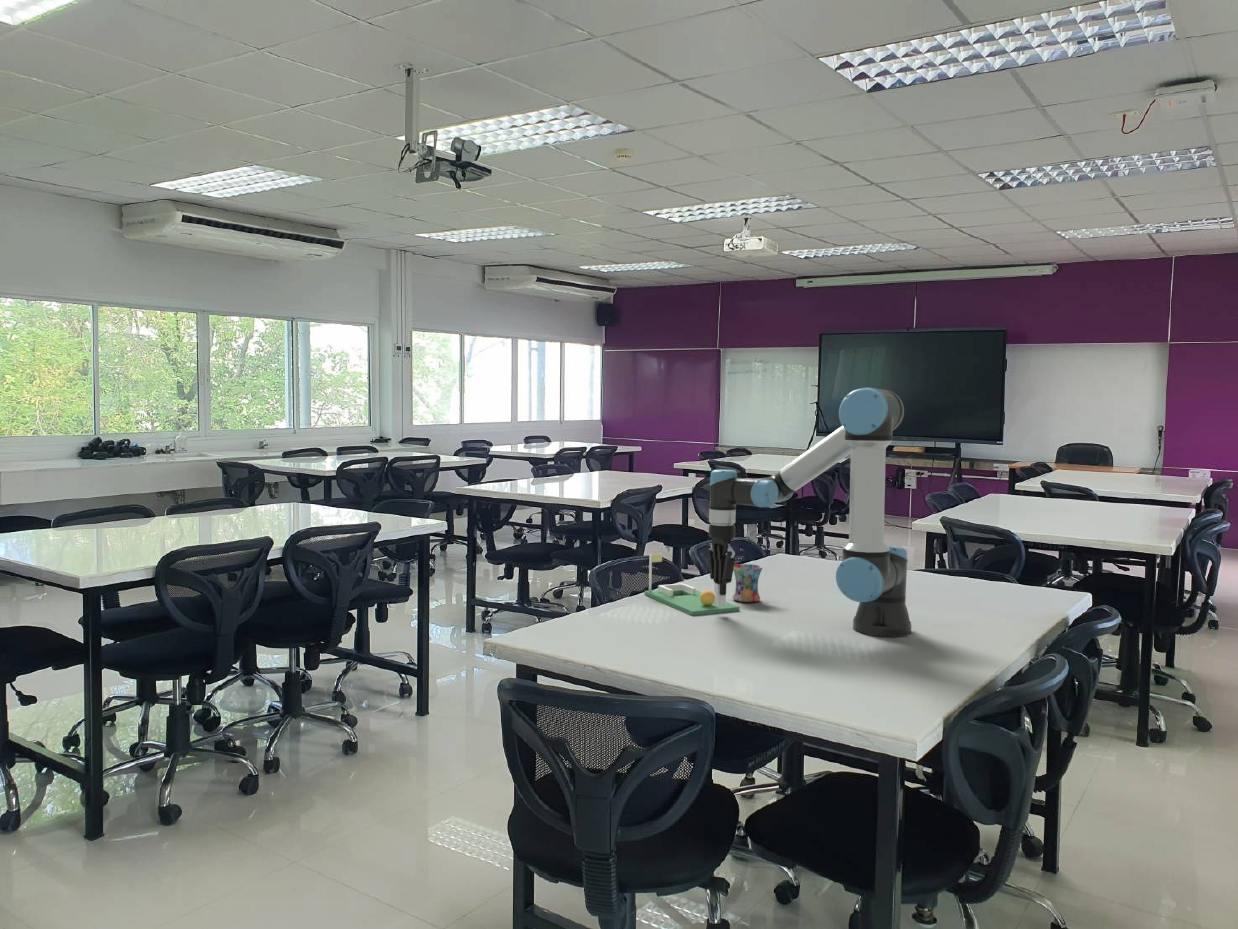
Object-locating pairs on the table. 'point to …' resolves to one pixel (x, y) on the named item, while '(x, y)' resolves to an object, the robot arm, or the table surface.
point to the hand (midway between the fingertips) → (720, 605)
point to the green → (683, 603)
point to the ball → (707, 597)
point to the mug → (746, 582)
